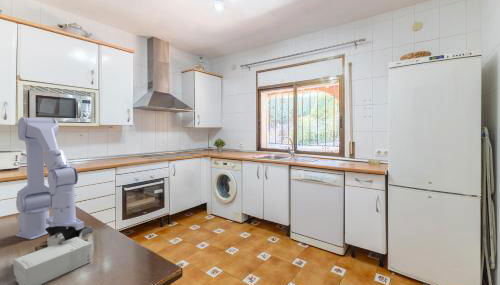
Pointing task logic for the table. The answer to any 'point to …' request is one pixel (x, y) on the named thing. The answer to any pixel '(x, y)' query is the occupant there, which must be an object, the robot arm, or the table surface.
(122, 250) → the table surface
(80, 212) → the table surface
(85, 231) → the slate drawer housing
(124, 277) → the table surface
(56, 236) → the white drawer with handle
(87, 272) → the table surface
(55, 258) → the skincare box
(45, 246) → the walnut bay
